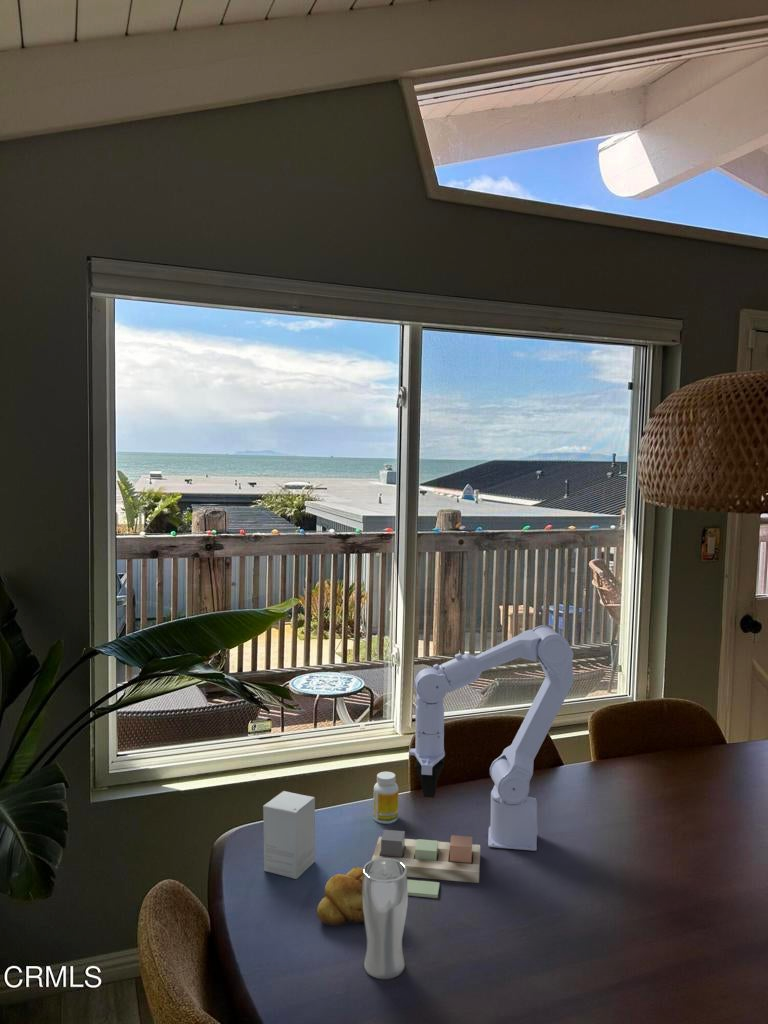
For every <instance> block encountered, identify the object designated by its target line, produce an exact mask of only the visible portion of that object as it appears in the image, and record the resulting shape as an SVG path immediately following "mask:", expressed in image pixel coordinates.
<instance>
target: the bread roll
mask: <svg viewBox="0 0 768 1024" xmlns="http://www.w3.org/2000/svg"><path fill="white" fill-rule="evenodd" d="M362 879H363V867H356V866H354V867H353V868H351V870H349V871H348V872H347V873H346V874H344V873H337V874H334V875H333V876H332V877H330V878H329V879H328V881H327V882H326V884H325V886H324V897H323V898H322V899H321V900H320V902H319V903H318V906H317V909H316V913H317V916H318V919H319V920H320V922H322V923H324V924H326V925H329V926H341V925H342V926H343V925H345V924H348V923H353V924H361V923H362V924H363V923H364V918H363V912H362Z"/></svg>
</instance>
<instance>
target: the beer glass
mask: <svg viewBox="0 0 768 1024" xmlns="http://www.w3.org/2000/svg"><path fill="white" fill-rule="evenodd" d="M362 868H363V879H362V912H363V918H364V929H365V936H366V951H365V954H364V955H365V956H364V963H363V966H364V971H365V972H366V973H367V974H368V975H369V976H370V977H372V978H373V979H374V978H375V979H378V980H391V979H394V978H397V977H398V976H400V975H401V974H402V973H403V971H404V970H405V958H404V952H403V935H404V929H405V926H406V925H405V924H406V918H407V913H408V901H409V896H408V885H407V879H408V877H407V869H406V866H405V865H404V864H403V863H402V862H400V861H398V860H396V859H391V858H378V859H374V860H372V859H371V860H369V861H367V862H366V863H364V866H363V867H362Z"/></svg>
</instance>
